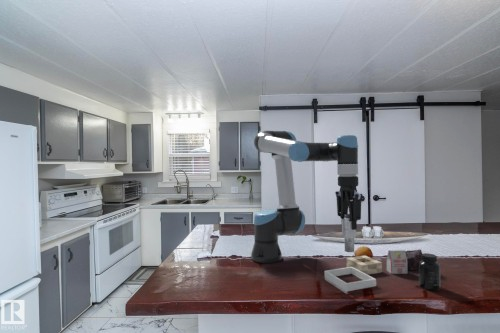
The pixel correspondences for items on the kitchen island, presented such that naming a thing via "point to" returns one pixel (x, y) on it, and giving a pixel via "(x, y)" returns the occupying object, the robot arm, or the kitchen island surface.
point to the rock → (413, 259)
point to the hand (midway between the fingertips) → (349, 236)
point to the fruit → (363, 252)
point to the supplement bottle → (429, 272)
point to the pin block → (365, 264)
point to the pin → (348, 241)
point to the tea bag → (397, 262)
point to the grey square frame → (343, 286)
